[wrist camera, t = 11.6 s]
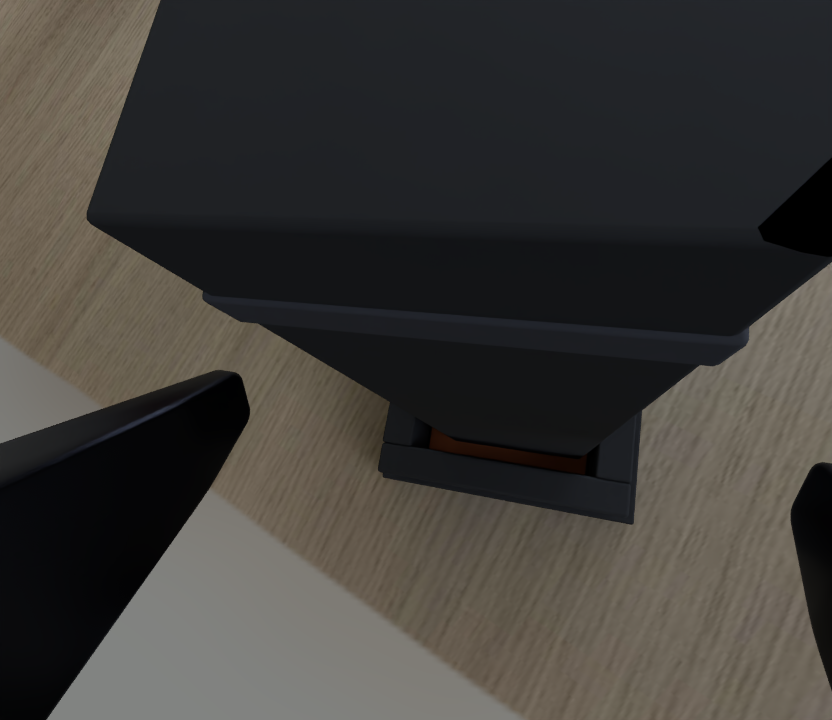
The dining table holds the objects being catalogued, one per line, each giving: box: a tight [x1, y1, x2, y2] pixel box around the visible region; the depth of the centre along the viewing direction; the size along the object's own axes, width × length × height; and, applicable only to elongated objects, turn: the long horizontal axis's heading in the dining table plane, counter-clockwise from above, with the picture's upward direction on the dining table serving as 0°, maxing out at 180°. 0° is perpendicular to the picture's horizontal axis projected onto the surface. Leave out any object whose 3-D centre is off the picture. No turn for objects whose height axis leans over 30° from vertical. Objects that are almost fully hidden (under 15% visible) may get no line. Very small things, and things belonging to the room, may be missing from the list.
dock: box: [378, 402, 642, 525], centre depth 16 cm, size 8×8×3 cm
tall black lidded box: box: [87, 0, 832, 459], centre depth 10 cm, size 5×4×14 cm
